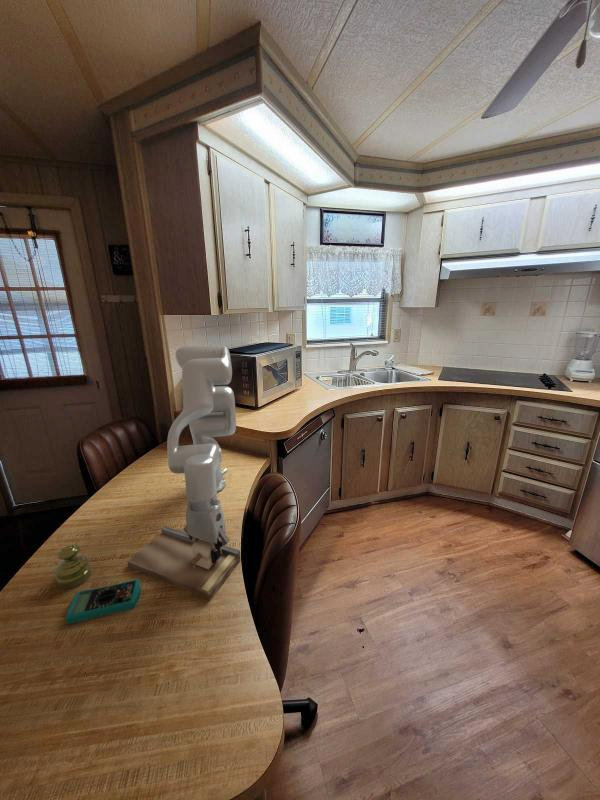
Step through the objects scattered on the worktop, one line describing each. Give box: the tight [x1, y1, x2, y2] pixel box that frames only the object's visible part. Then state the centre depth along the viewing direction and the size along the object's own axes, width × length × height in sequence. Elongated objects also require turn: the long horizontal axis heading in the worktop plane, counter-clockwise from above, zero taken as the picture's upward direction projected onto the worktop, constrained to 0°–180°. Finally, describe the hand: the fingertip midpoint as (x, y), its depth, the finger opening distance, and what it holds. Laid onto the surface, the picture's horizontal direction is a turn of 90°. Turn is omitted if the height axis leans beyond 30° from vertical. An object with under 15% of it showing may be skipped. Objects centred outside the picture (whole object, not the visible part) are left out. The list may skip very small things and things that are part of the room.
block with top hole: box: [190, 539, 222, 569], centre depth 84 cm, size 9×5×6 cm, turn 158°
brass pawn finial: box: [54, 543, 92, 590], centre depth 81 cm, size 7×7×10 cm
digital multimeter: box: [65, 579, 141, 625], centre depth 75 cm, size 7×15×3 cm, turn 107°
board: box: [126, 525, 242, 601], centre depth 87 cm, size 14×28×4 cm, turn 68°
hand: (207, 556), depth 86 cm, fingers closed on block with top hole, 5 cm apart
